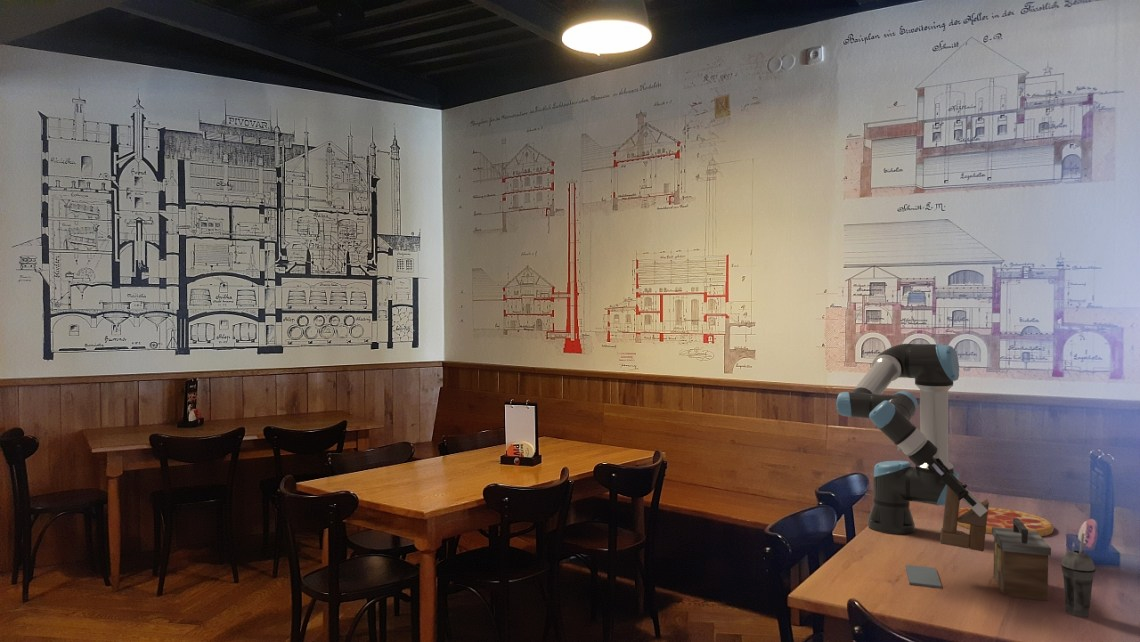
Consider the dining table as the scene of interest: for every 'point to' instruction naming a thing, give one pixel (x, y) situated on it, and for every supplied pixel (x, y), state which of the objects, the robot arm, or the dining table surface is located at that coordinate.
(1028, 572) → the toolbox
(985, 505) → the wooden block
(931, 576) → the mat
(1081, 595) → the beverage cup
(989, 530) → the pizza
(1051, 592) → the dining table surface
